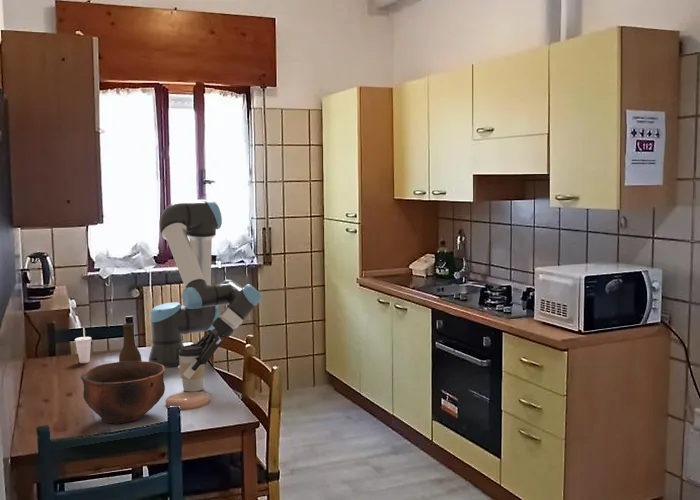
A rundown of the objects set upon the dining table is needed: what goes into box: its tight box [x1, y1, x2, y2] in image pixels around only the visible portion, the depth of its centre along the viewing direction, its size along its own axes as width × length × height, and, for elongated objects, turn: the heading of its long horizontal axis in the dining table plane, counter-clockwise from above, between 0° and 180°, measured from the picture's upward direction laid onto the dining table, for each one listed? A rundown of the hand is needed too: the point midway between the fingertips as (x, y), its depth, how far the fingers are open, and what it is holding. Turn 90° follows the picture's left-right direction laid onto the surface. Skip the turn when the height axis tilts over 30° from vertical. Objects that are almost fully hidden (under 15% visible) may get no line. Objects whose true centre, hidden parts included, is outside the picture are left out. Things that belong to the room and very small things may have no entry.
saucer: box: [165, 391, 211, 410], centre depth 241 cm, size 14×14×2 cm
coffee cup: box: [178, 343, 206, 392], centre depth 254 cm, size 9×9×15 cm
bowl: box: [80, 360, 166, 424], centre depth 226 cm, size 25×25×15 cm
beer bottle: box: [118, 322, 143, 362], centre depth 253 cm, size 8×8×24 cm
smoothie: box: [74, 327, 92, 364], centre depth 296 cm, size 6×6×14 cm
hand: (183, 373), depth 253 cm, fingers closed on coffee cup, 9 cm apart
